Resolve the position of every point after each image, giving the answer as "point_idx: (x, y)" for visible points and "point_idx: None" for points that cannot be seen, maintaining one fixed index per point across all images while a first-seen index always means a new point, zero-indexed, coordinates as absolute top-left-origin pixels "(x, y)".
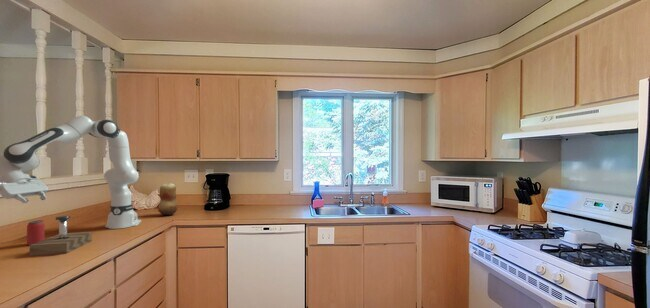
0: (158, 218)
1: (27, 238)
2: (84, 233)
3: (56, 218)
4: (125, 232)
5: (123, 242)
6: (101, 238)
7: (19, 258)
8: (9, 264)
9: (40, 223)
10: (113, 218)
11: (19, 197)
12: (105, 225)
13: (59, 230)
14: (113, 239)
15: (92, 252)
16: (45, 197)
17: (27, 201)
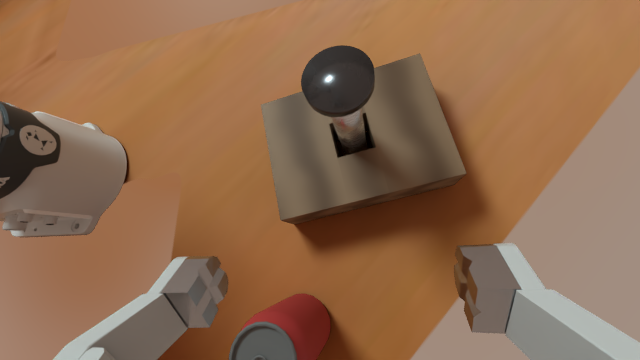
0: None
1: (322, 348)
2: (284, 111)
3: (373, 84)
4: (180, 94)
5: (297, 7)
6: (247, 114)
7: (485, 194)
8: (550, 162)
9: (272, 318)
10: (75, 168)
11: (625, 352)
12: (81, 232)
13: (361, 121)
14: (262, 64)
15: (399, 10)
16: (187, 259)
17: (468, 251)
